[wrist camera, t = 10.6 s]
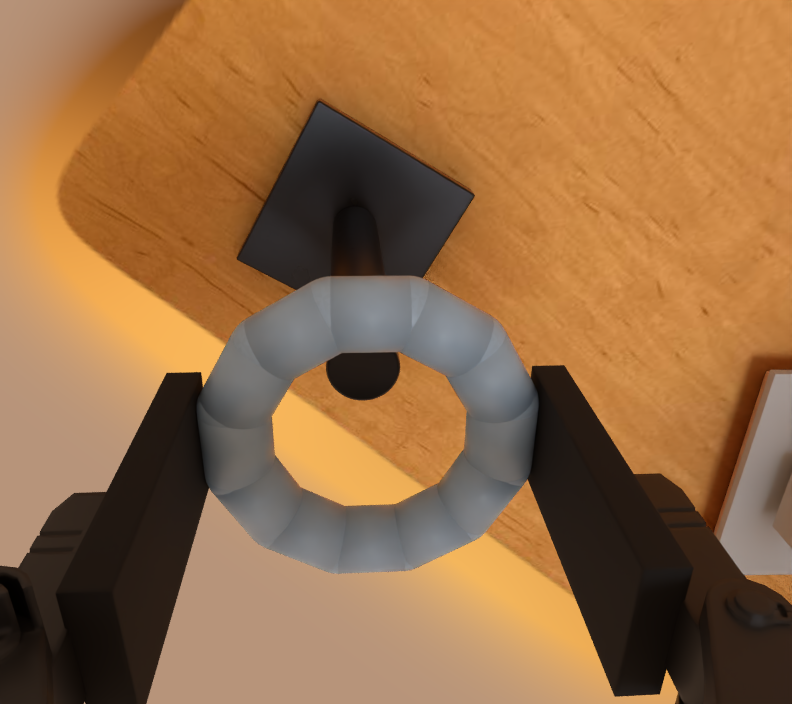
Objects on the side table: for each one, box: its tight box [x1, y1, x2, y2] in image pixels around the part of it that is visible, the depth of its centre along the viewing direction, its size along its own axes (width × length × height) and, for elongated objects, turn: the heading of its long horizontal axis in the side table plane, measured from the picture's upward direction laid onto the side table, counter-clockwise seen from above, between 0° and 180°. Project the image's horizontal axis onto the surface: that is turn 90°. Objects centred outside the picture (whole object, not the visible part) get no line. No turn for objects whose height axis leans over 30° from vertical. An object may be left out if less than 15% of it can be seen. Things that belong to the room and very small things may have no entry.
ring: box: [197, 276, 539, 574], centre depth 16 cm, size 8×8×2 cm
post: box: [237, 99, 475, 400], centre depth 25 cm, size 8×8×15 cm
